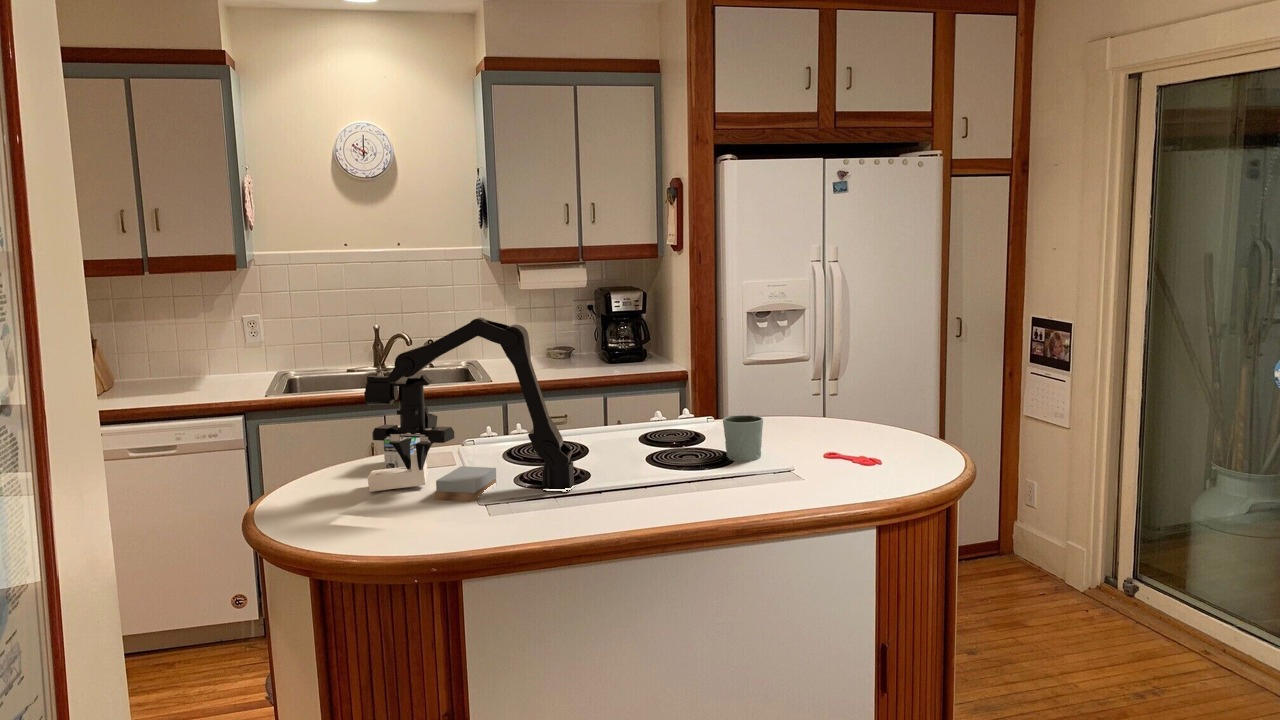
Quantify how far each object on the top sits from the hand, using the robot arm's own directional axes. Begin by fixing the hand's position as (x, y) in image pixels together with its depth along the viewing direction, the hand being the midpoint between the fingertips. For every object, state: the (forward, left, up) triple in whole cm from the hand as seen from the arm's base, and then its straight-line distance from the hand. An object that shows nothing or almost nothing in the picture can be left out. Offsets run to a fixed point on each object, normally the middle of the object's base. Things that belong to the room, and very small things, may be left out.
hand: (415, 469), depth 230 cm
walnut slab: (-13, 0, -6) cm, 14 cm away
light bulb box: (+13, -18, -5) cm, 23 cm away
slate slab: (-13, -1, -3) cm, 13 cm away
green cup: (-71, -40, -5) cm, 82 cm away
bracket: (+5, -1, -4) cm, 7 cm away
